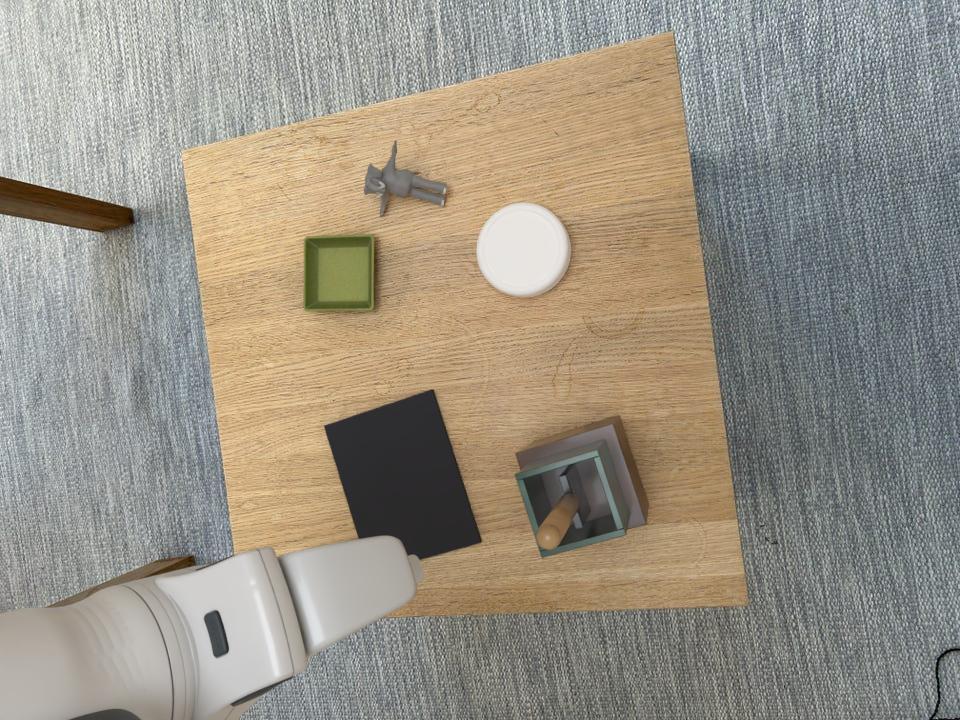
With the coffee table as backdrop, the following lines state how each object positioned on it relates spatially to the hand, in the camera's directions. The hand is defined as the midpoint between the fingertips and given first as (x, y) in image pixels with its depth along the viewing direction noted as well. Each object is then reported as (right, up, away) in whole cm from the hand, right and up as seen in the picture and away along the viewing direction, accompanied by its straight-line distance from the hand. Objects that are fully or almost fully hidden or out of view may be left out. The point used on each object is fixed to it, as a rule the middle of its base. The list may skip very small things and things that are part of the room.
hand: (369, 590), depth 52 cm
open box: (+19, +3, +31) cm, 37 cm away
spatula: (+17, +3, +21) cm, 28 cm away
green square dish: (-8, +26, +38) cm, 46 cm away
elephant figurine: (0, +36, +36) cm, 50 cm away
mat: (-1, +2, +36) cm, 36 cm away
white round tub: (+13, +27, +33) cm, 45 cm away
